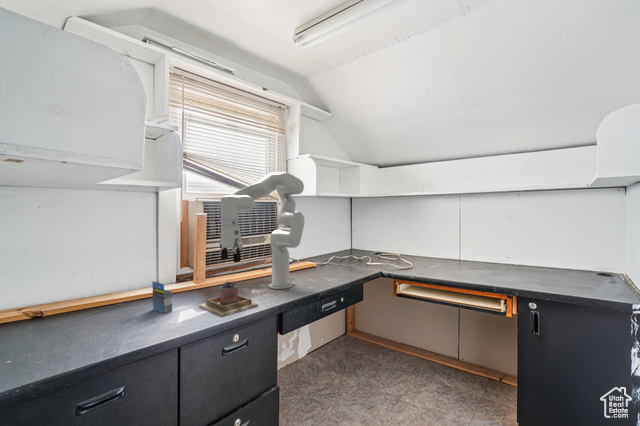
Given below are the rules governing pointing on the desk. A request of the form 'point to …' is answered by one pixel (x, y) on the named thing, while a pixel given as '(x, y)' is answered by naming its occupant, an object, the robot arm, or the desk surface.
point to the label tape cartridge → (161, 298)
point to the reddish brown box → (228, 293)
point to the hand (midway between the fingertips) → (230, 260)
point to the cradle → (228, 306)
